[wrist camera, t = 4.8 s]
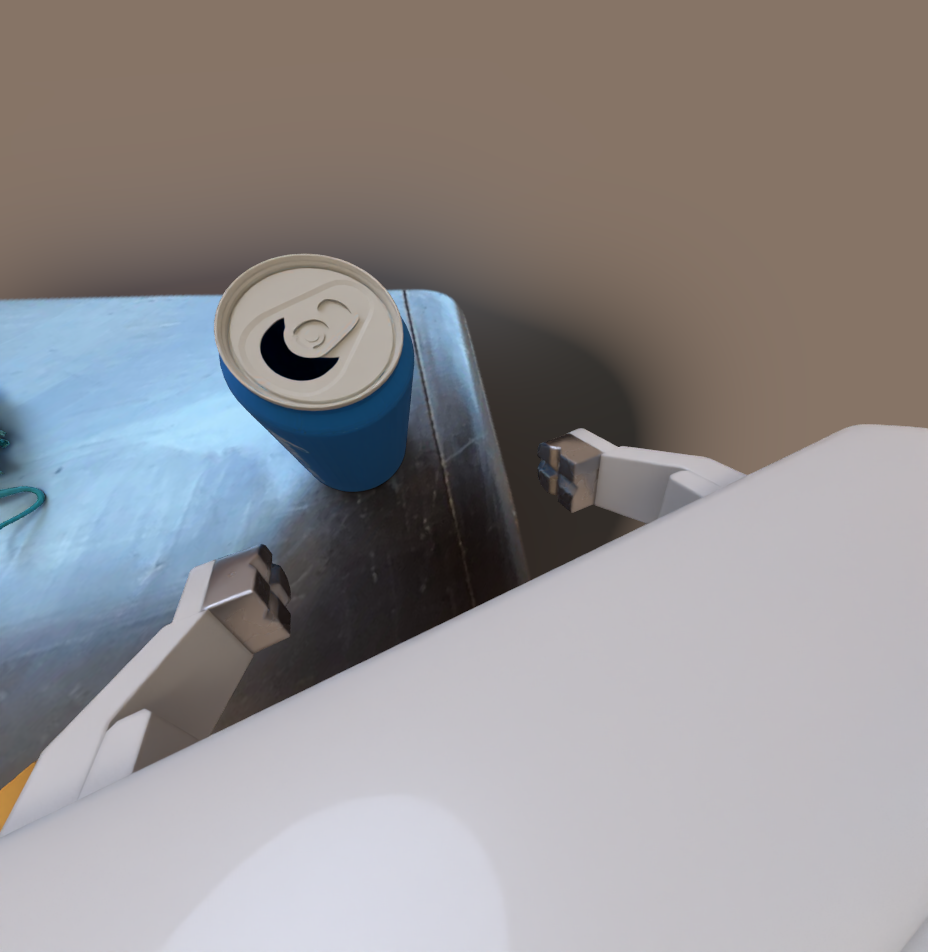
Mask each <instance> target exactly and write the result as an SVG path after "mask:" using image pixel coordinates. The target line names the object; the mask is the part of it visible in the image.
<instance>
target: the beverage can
mask: <svg viewBox="0 0 928 952" xmlns="http://www.w3.org/2000/svg"><path fill="white" fill-rule="evenodd" d="M214 334H215V341H216V345H217V348H218V351H219V358H220V366H221V369H222V372H223V375H224V378H225V380H226V382H227V385H228V387H229V389H230V390H231V392H232V393H233V395H234V396H235V398H236V399H237V400H238V401H239V402H240V403H241V405H242V406H243V407H244V408H245V409H246V410H247V411H248V412H249V413H250V414H251V415H252V416H253V417H254V418H255V419H256V420H257V421H258V422H259V423H260V424H261V425H262V426H263V427H265V428H266V429H267V430H268V431H269V432H270V433H271V434H272V435H273V436H274V437H275V438H276V439H277V440H278V441H279V442H280V443H281V444H282V445H283V446H284V447H285V448H286V449H287V450H288V451H289V452H290V453H291V454H292V455H293V456H294V457H295V458H296V459H297V460H298V461H299V462H300V463H301V464H302V465H303V466H304V467H305V468H306V469H307V470H308V471H309V472H310V473H311V474H312V475H313V476H314V477H315V478H317V479H318V480H319V481H320V482H322V483H323V484H325V485H327V486H329V487H331V488H334V489H337V490H341V491H348V492H357V491H364V490H369V489H372V488H375V487H377V486H379V485H381V484H382V483H384V482H385V481H387V480H388V479H389V478H390V477H392V476H393V474H394V473H395V472H396V471H397V470H398V468H399V467H400V465H401V463H402V461H403V458H404V455H405V450H406V441H407V431H408V421H409V411H410V401H411V390H412V380H413V370H414V350H413V344H412V340H411V336H410V334H409V331H408V329H407V326H406V324H405V323H404V321H403V319H402V318H401V316H400V313H399V311H398V308H397V306H396V304H395V302H394V300H393V299H392V297H391V296H390V294H389V293H388V292H387V290H386V289H385V288H384V287H383V286H382V285H381V284H380V283H379V282H378V281H377V280H376V279H375V278H374V277H372V276H371V275H370V274H368V273H367V272H365V271H364V270H362V269H361V268H359V267H357V266H355V265H353V264H351V263H348V262H346V261H343V260H340V259H337V258H333V257H329V256H323V255H316V254H293V255H286V256H281V257H277V258H272V259H270V260H267V261H264V262H262V263H260V264H258V265H255V266H254V267H252V268H250V269H248V270H247V271H246V272H244V273H243V274H241V275H240V276H239V277H238V278H237V279H236V280H235V281H234V282H233V283H232V284H231V285H230V286H229V288H228V289H227V290H226V291H225V293H224V295H223V296H222V298H221V300H220V302H219V305H218V307H217V310H216V315H215V320H214Z"/></svg>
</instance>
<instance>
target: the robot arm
mask: <svg viewBox="0 0 928 952" xmlns="http://www.w3.org/2000/svg"><path fill="white" fill-rule="evenodd" d="M538 457H539V458H540V459H541V460H542V461H541V462H540V464H539V466H538V477H539V480H540V483H541V485H542V486H543V488H544V489H545V490H546V491H547V492H548V493H549V494H553V495H557V496H558V502H560V503H561V504H562V505H563V506H564V507H565V508H567V509H568V510H569V511H570V512H571V513H573V512H575V511H578V510H580V509H583V508H585V507H588V506H590V505H593V504H595V505H596V506H599V507H602V508H605V509H607V510H610V511H613V512H616V513H619V514H621V515H624V516H627V517H630V518H633V519H636V520H639V521H641V522H644V523H647V524H646V525H644V526H642V527H640V528H638V529H636V530H634V531H632V532H630V533H628V534H626V535H624V536H622V537H620V538H617V539H615V540H613V541H611V542H609V543H607V544H605V545H603V546H601V547H599V548H597V549H595V550H593V551H591V552H589V553H587V554H584V555H582V556H580V557H578V558H576V559H574V560H572V561H570V562H568V563H566V564H564V565H562V566H560V567H558V568H555V569H553V570H551V571H549V572H547V573H545V574H543V575H541V576H539V577H537V578H535V579H533V580H531V581H529V582H527V583H524V584H522V585H520V586H518V587H516V588H514V589H512V590H510V591H508V592H506V593H504V594H502V595H500V596H498V597H496V598H494V599H491V600H489V601H487V602H485V603H483V604H481V605H479V606H477V607H475V608H473V609H471V610H469V611H467V612H465V613H463V614H461V615H458V616H456V617H454V618H452V619H450V620H448V621H446V622H444V623H442V624H440V625H438V626H436V627H434V628H432V629H430V630H428V631H425V632H423V633H421V634H419V635H417V636H415V637H413V638H411V639H409V640H407V641H405V642H403V643H401V644H399V645H397V646H395V647H392V648H390V649H388V650H386V651H384V652H382V653H380V654H378V655H376V656H374V657H372V658H370V659H368V660H366V661H364V662H362V663H359V664H357V665H355V666H353V667H351V668H349V669H347V670H345V671H343V672H341V673H339V674H337V675H335V676H333V677H331V678H328V679H326V680H324V681H322V682H320V683H318V684H316V685H314V686H312V687H310V688H308V689H306V690H304V691H302V692H300V693H298V694H295V695H293V696H291V697H289V698H287V699H285V700H283V701H281V702H279V703H277V704H275V705H273V706H271V707H269V708H267V709H265V710H262V711H260V712H258V713H256V714H254V715H252V716H250V717H248V718H246V719H244V720H242V721H240V722H238V723H236V724H234V725H232V726H229V727H227V728H225V729H223V730H221V731H219V732H217V733H215V734H213V735H211V736H210V734H211V732H212V730H213V728H214V726H215V725H216V723H217V721H218V719H219V717H220V716H221V714H222V712H223V710H224V708H225V707H226V705H227V703H228V701H229V699H230V697H231V696H232V694H233V692H234V690H235V688H236V687H237V685H238V683H239V681H240V679H241V678H242V676H243V674H244V672H245V670H246V669H247V667H248V665H249V663H250V661H251V659H252V658H253V654H254V653H256V652H258V651H260V650H262V649H264V648H266V647H269V646H271V645H273V644H275V643H277V642H279V641H281V640H284V639H286V638H288V637H290V618H291V614H290V612H289V611H288V610H287V608H286V606H287V604H288V603H289V601H290V600H291V591H290V586H289V582H288V579H287V577H286V575H285V572H284V571H283V569H282V568H281V566H279V565H276V564H273V563H272V553H271V552H270V551H269V549H268V548H267V547H266V546H265V545H263V544H260V545H257V546H254V547H251V548H248V549H245V550H242V551H239V552H236V553H233V554H230V555H227V556H224V557H222V558H219V559H217V560H213V561H210V562H207V563H205V564H202V565H199V566H196V567H195V568H193V569H192V570H191V571H190V573H189V576H188V579H187V582H186V585H185V587H184V590H183V593H182V596H181V599H180V602H179V605H178V607H177V610H176V613H175V616H174V619H173V622H172V623H171V624H169V625H167V626H164V627H163V628H162V629H161V630H160V631H159V632H158V633H157V634H156V635H155V636H154V637H153V638H152V639H151V640H150V641H149V642H148V644H147V645H146V646H145V647H144V648H143V649H142V650H141V651H140V652H139V653H138V654H137V655H136V656H135V657H134V658H133V659H132V660H131V661H130V662H129V663H128V664H127V665H126V666H125V667H124V668H123V669H122V670H121V671H120V672H119V673H118V674H117V675H116V676H115V677H114V679H113V680H112V681H111V682H110V683H109V684H108V685H107V686H106V687H105V688H104V689H103V690H102V691H101V692H100V693H99V694H98V695H97V696H96V697H95V698H94V699H93V700H92V701H91V702H90V703H89V704H88V705H87V706H86V707H85V708H84V709H83V710H82V711H81V712H80V714H79V715H78V716H77V717H76V718H75V719H74V720H73V721H72V722H71V723H70V724H69V725H68V726H67V727H66V728H65V729H64V730H63V731H62V732H61V733H60V734H59V735H58V736H57V737H56V738H55V739H54V740H53V741H52V742H51V743H50V744H49V745H48V746H47V747H46V748H45V750H44V751H43V752H42V753H41V755H40V757H39V759H38V761H37V763H36V765H35V767H34V769H33V771H32V772H31V774H30V776H29V778H28V780H27V782H26V784H25V786H24V788H23V790H22V792H21V793H20V795H19V797H18V799H17V801H16V803H15V805H14V807H13V809H12V811H11V813H10V814H9V816H8V818H7V820H6V822H5V824H4V826H3V828H2V830H1V832H0V952H928V428H918V427H907V426H892V425H867V424H863V425H862V424H861V425H854V426H850V427H847V428H845V429H842V430H840V431H838V432H836V433H834V434H832V435H830V436H828V437H826V438H824V439H822V440H820V441H817V442H815V443H813V444H811V445H809V446H807V447H805V448H803V449H801V450H799V451H797V452H795V453H793V454H791V455H789V456H787V457H785V458H783V459H780V460H779V461H776V462H774V463H772V464H770V465H768V466H766V467H764V468H762V469H760V470H758V471H756V472H754V473H752V474H750V475H745V474H743V473H740V472H738V471H736V470H734V469H732V468H729V467H727V466H725V465H723V464H721V463H719V462H716V461H714V460H712V459H710V458H707V457H699V456H692V455H684V454H677V453H670V452H663V451H655V450H647V449H639V448H633V447H625V446H622V447H619V448H618V447H616V446H615V445H613V444H611V443H609V442H607V441H605V440H603V439H602V438H600V437H598V436H596V435H594V434H592V433H591V432H589V431H587V430H585V429H577V430H574V431H572V432H569V433H567V434H565V435H562V436H560V437H557V438H555V439H552V440H549V441H547V442H544V443H541V444H539V447H538Z"/></svg>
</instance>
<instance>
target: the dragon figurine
mask: <svg viewBox="0 0 928 952" xmlns="http://www.w3.org/2000/svg"><path fill="white" fill-rule="evenodd" d="M4 434H6V433H5V432H3V431H1V430H0V435H2V436H5V435H4ZM8 445H10V443H9V442H8V441H7V440H4V439H0V446H1V447H2V448H5V447H7V446H8ZM0 474H4V473H2V472H1V471H0ZM26 491H28V492H32V493H35V494H36V495H37V501H36V503H34V504H33V505H32V506H31V507H30V508H28V509H27V510H25V511H24V512H22V513H20V514H19V515H17V516H15V517H13V518H11V519H9V520H7V521H5V522H3V523H1V524H0V530H1V529H2V528H3V527H5V526H7V525H9V524H11V523H13V522H15V521H17V520H19V519H20V518H22V517H24V516H26V515H27V514H29V513H31V512H32V511H34V510H35V509H37V508H38V507H39V506H41V504H42V503H43V502H44V499H45V496H44V494H43V492H42V491H41V490H39V489H37V488H34V487H28V486H22V487H13V488H8V489H2V490H0V498H2V497H6V496H9V495H13V494H16V493H20V492H26Z"/></svg>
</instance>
